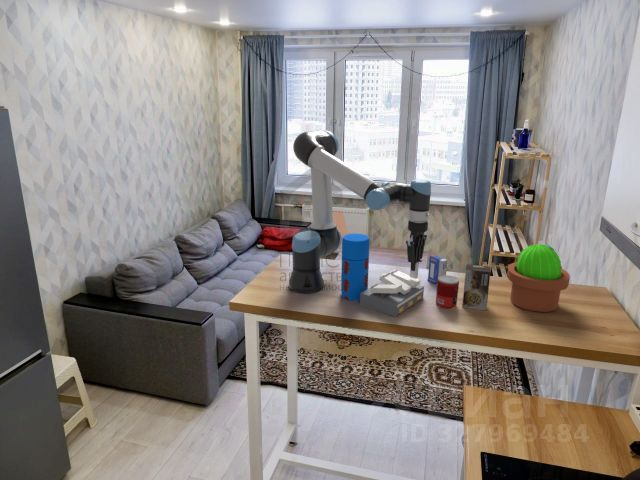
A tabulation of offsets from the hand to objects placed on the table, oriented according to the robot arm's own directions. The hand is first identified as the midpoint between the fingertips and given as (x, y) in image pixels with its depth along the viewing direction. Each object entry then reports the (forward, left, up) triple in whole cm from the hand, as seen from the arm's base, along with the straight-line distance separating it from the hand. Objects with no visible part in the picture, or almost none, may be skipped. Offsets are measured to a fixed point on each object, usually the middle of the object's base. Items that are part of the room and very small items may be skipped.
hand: (413, 277), depth 185 cm
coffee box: (+22, +10, -10) cm, 26 cm away
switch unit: (-5, -7, -10) cm, 13 cm away
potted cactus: (+39, +28, -10) cm, 49 cm away
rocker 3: (-4, 0, -2) cm, 4 cm away
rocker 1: (-4, -14, -2) cm, 15 cm away
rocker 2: (-4, -7, -2) cm, 8 cm away
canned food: (+13, +4, -10) cm, 17 cm away
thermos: (-20, -12, -10) cm, 25 cm away
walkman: (0, +22, -10) cm, 24 cm away
